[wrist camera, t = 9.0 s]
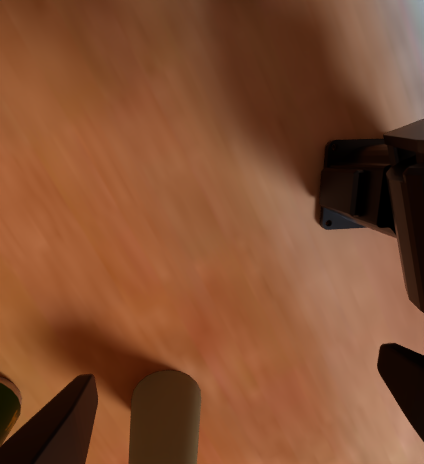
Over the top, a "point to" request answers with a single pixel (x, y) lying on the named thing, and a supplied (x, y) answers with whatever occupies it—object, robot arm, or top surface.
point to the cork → (165, 419)
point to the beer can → (8, 407)
